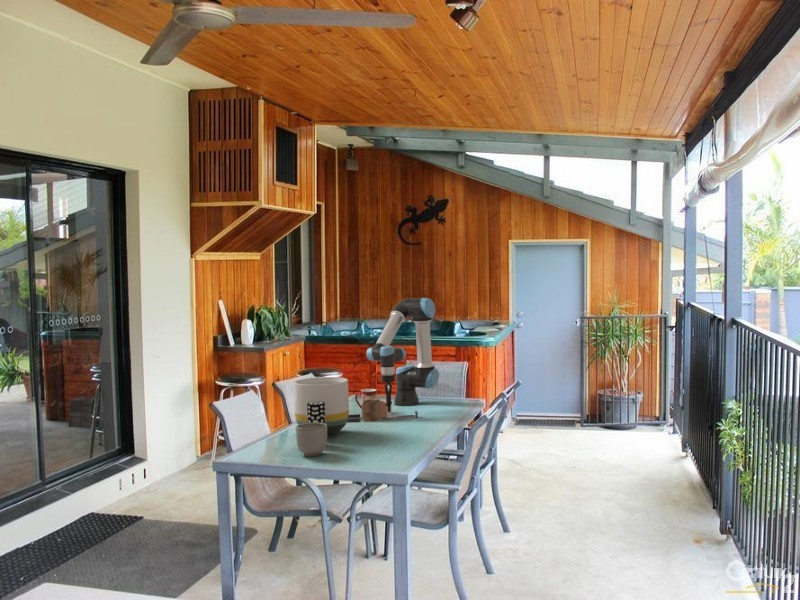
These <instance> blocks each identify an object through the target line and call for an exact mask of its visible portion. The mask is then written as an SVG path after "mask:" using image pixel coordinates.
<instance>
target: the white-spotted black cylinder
mask: <svg viewBox="0 0 800 600" xmlns="http://www.w3.org/2000/svg"><path fill="white" fill-rule="evenodd" d="M307 420H308V423H325V424H326V419H325V402H309V403H307Z"/></svg>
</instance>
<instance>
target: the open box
mask: <svg viewBox="0 0 800 600" xmlns="http://www.w3.org/2000/svg"><path fill="white" fill-rule="evenodd" d="M380 401H381V400H380V395H376V396H370V397H363V413H364V420H363V422H365V423H366V422H381V419H380Z"/></svg>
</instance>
